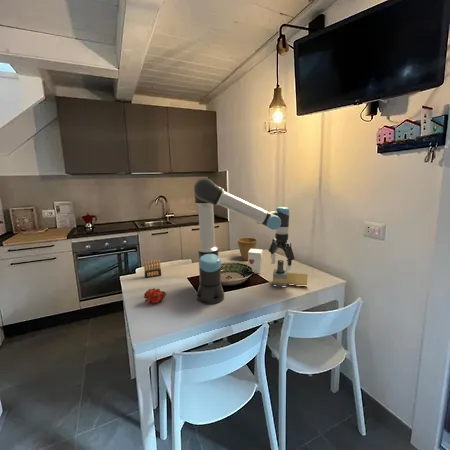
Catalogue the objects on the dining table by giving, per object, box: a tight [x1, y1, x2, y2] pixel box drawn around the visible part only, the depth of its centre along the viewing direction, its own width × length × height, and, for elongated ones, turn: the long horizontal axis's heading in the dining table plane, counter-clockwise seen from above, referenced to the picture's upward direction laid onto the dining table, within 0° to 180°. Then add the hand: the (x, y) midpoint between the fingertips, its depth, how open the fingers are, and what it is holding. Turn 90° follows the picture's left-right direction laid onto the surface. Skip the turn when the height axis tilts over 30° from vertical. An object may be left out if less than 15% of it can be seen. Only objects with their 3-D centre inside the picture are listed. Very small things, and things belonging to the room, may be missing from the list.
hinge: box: [272, 268, 308, 287], centre depth 169 cm, size 20×20×8 cm
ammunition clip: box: [143, 258, 162, 279], centre depth 176 cm, size 11×2×12 cm, turn 115°
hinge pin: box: [276, 259, 285, 274], centre depth 164 cm, size 4×4×15 cm
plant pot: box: [237, 237, 258, 262], centre depth 210 cm, size 15×15×16 cm
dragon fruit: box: [143, 287, 167, 305], centre depth 142 cm, size 8×8×12 cm
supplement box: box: [247, 248, 264, 275], centre depth 185 cm, size 9×9×15 cm
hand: (280, 266), depth 163 cm, fingers open, 13 cm apart
